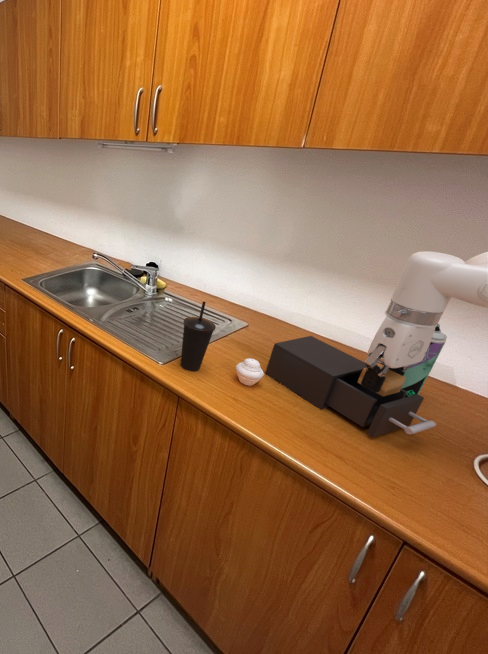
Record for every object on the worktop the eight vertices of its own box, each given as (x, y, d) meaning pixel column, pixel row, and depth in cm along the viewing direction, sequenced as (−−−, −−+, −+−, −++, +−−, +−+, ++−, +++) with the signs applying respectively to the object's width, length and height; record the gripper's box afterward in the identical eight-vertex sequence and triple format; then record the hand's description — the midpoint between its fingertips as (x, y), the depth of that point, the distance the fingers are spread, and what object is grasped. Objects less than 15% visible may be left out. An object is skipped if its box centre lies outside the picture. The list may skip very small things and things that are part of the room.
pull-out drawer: (434, 439, 83) (450, 410, 80) (396, 452, 80) (411, 422, 77) (343, 388, 99) (354, 362, 96) (309, 397, 96) (319, 370, 93)
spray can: (385, 384, 101) (417, 315, 94) (415, 393, 98) (451, 323, 90) (385, 394, 98) (418, 323, 90) (416, 404, 94) (453, 332, 87)
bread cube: (399, 392, 85) (406, 377, 84) (383, 396, 84) (390, 382, 83) (373, 378, 90) (379, 364, 88) (357, 382, 88) (363, 368, 87)
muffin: (227, 376, 105) (233, 354, 103) (247, 373, 106) (253, 351, 104) (245, 391, 100) (252, 368, 97) (266, 387, 101) (273, 364, 98)
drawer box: (358, 399, 96) (373, 366, 93) (320, 409, 93) (333, 376, 90) (300, 365, 109) (310, 335, 106) (264, 373, 106) (274, 343, 102)
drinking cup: (175, 371, 108) (189, 306, 100) (174, 356, 114) (186, 294, 106) (207, 377, 105) (223, 310, 97) (203, 361, 112) (218, 297, 104)
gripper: (406, 327, 74) (370, 404, 81) (465, 315, 78) (426, 388, 85) (361, 310, 81) (332, 382, 88) (418, 299, 85) (386, 369, 92)
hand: (379, 384), depth 87 cm, fingers closed on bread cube, 5 cm apart
